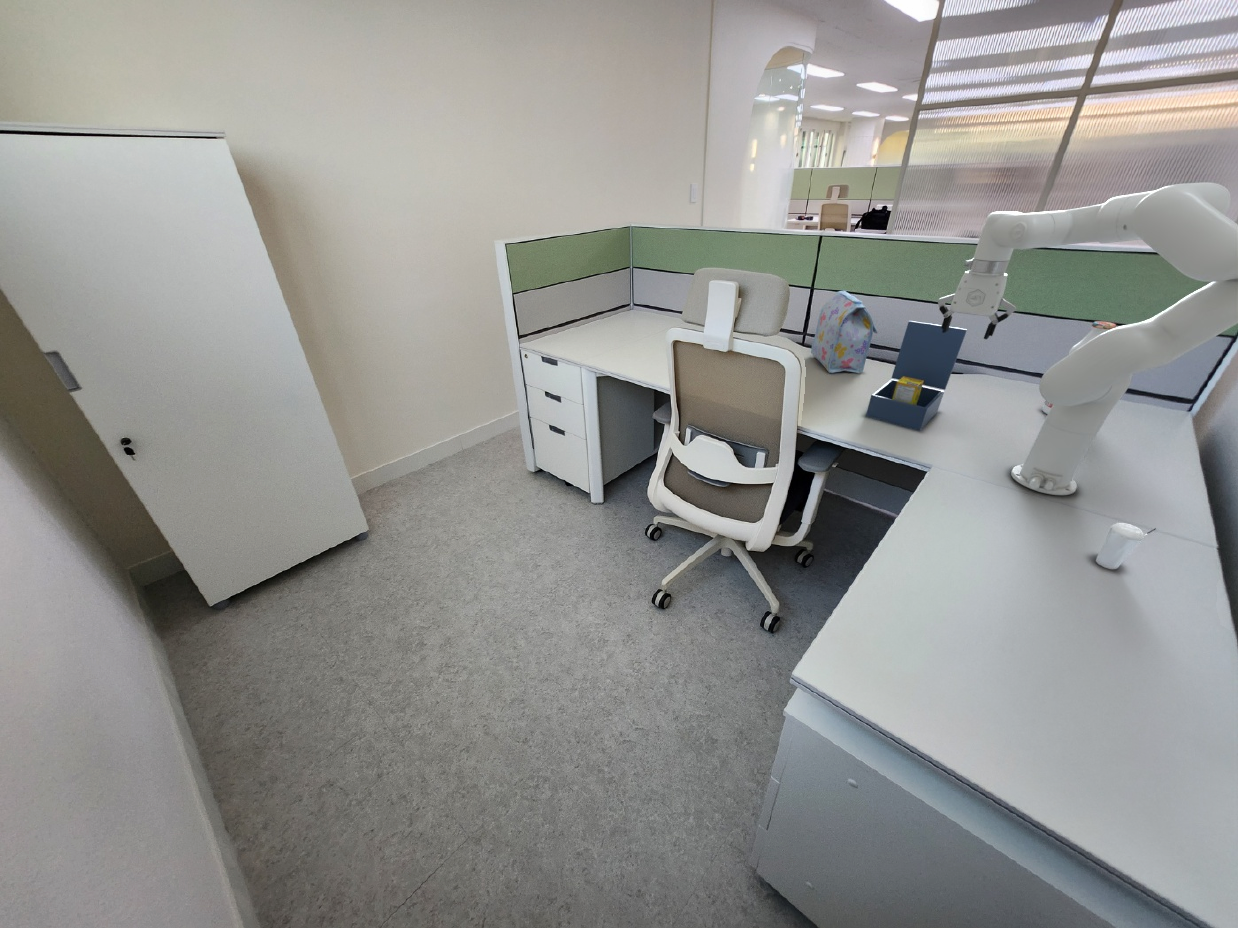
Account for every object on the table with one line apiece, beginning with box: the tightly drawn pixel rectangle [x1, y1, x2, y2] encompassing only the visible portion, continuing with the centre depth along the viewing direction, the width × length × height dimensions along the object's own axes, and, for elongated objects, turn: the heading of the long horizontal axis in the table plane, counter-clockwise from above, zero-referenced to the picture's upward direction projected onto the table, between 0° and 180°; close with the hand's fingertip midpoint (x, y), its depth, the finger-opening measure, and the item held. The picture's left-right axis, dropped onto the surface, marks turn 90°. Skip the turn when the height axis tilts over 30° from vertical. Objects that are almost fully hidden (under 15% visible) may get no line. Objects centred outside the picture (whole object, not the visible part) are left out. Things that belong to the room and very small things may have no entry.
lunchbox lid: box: [891, 320, 968, 391], centre depth 150 cm, size 18×16×5 cm
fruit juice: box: [1042, 320, 1117, 415], centre depth 142 cm, size 9×9×28 cm
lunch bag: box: [810, 290, 879, 374], centre depth 185 cm, size 22×17×26 cm
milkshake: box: [1095, 522, 1157, 570], centre depth 91 cm, size 4×5×10 cm
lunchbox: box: [865, 378, 945, 432], centre depth 150 cm, size 18×16×7 cm
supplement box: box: [892, 376, 924, 405], centre depth 148 cm, size 6×6×11 cm
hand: (965, 335), depth 129 cm, fingers open, 9 cm apart
